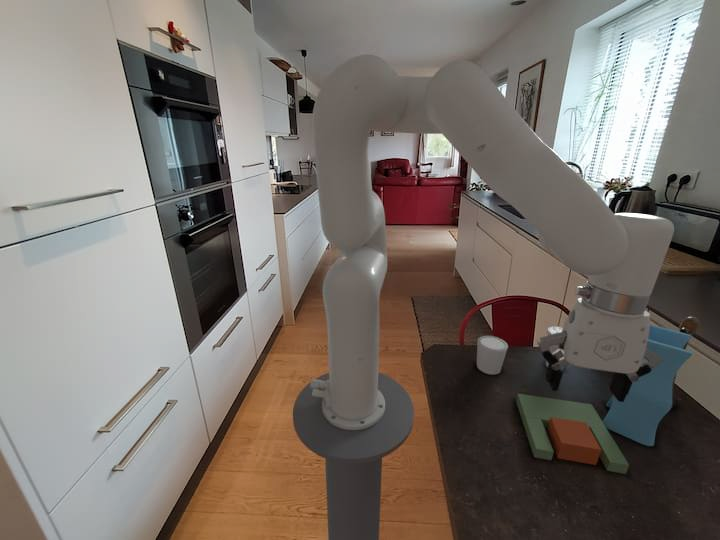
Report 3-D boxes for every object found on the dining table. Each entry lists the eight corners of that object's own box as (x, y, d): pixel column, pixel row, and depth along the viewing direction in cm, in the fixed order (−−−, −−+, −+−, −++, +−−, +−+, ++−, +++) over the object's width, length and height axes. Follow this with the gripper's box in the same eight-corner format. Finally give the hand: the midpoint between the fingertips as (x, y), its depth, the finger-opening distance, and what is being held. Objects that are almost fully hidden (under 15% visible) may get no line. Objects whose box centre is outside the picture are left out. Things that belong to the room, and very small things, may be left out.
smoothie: (541, 371, 79) (553, 319, 74) (538, 356, 84) (549, 308, 80) (571, 377, 77) (586, 325, 72) (566, 362, 82) (579, 312, 77)
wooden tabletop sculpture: (667, 413, 66) (703, 326, 59) (639, 399, 70) (670, 316, 63) (678, 402, 69) (713, 319, 62) (651, 389, 73) (681, 309, 66)
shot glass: (504, 378, 76) (509, 353, 74) (473, 372, 78) (477, 347, 76) (502, 362, 82) (507, 338, 80) (474, 356, 84) (477, 333, 82)
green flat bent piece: (533, 457, 56) (536, 448, 56) (515, 401, 69) (517, 393, 68) (626, 474, 53) (629, 465, 53) (589, 412, 66) (591, 404, 66)
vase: (653, 449, 58) (693, 354, 51) (600, 425, 63) (630, 336, 56) (655, 423, 63) (691, 334, 57) (606, 404, 68) (634, 320, 62)
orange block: (557, 458, 56) (561, 443, 55) (546, 431, 62) (550, 416, 60) (596, 465, 55) (601, 449, 54) (581, 437, 60) (586, 422, 59)
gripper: (559, 300, 47) (533, 396, 52) (701, 317, 43) (656, 417, 49) (543, 282, 53) (522, 368, 59) (665, 294, 50) (629, 385, 56)
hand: (583, 390), depth 54 cm, fingers open, 9 cm apart
